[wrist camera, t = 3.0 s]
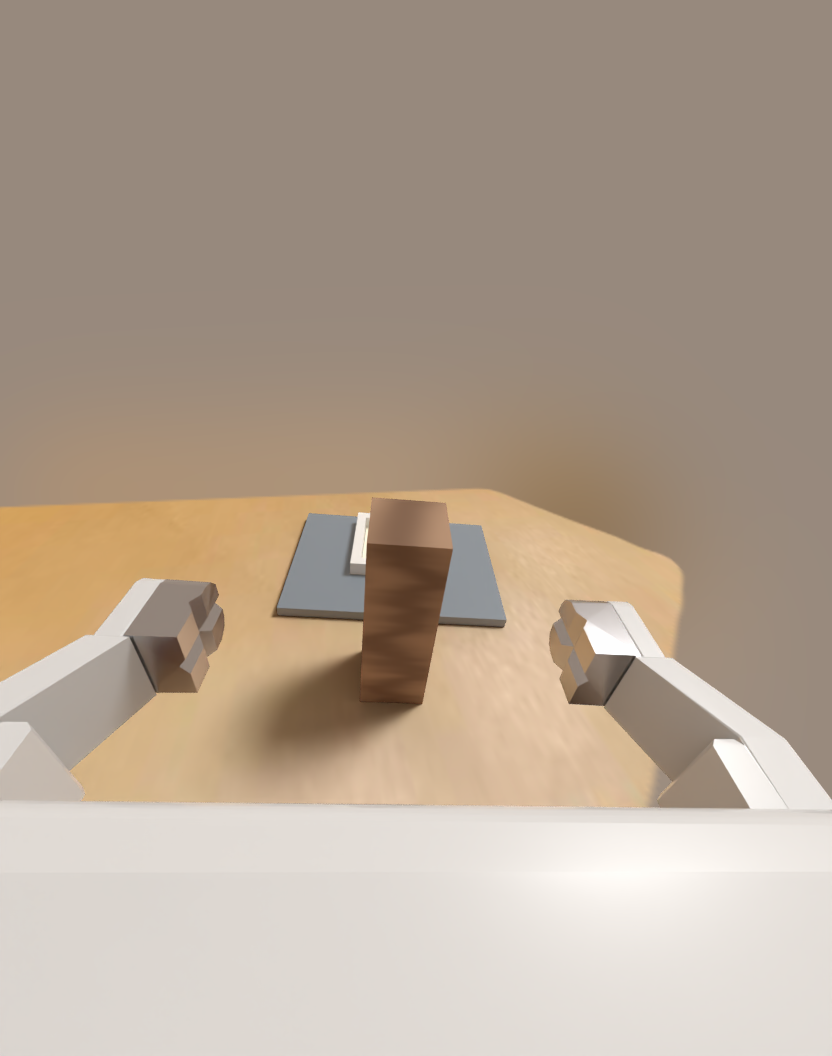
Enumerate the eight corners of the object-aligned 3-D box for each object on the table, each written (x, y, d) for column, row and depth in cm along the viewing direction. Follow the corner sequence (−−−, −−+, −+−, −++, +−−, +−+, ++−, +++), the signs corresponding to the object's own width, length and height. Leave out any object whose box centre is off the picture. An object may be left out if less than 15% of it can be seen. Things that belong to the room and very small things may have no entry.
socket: (350, 574, 43) (350, 563, 42) (358, 522, 51) (358, 512, 50) (439, 579, 44) (441, 568, 43) (434, 527, 51) (435, 518, 51)
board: (277, 615, 39) (276, 607, 38) (309, 519, 52) (309, 513, 51) (504, 626, 40) (506, 619, 40) (479, 531, 54) (481, 525, 53)
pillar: (359, 701, 33) (366, 543, 23) (364, 649, 37) (372, 497, 27) (422, 703, 33) (453, 548, 24) (420, 652, 37) (445, 503, 28)
